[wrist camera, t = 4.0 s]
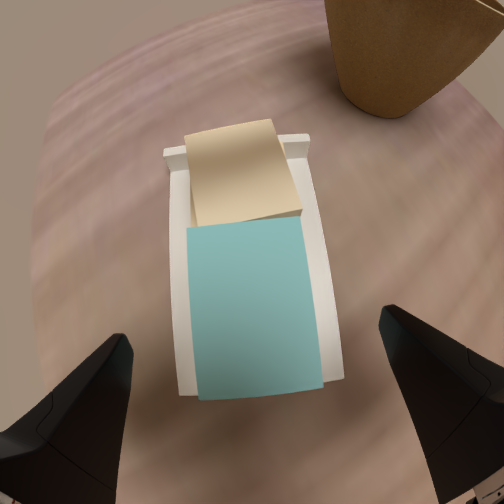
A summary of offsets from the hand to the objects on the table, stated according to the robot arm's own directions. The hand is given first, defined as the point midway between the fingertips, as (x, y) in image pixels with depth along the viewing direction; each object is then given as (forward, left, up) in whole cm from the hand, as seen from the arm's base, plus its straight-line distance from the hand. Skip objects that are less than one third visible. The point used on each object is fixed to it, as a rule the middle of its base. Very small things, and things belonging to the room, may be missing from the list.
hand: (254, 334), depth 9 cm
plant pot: (+25, -1, -9) cm, 26 cm away
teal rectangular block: (+1, 0, -8) cm, 8 cm away
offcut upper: (+7, +5, -5) cm, 10 cm away
